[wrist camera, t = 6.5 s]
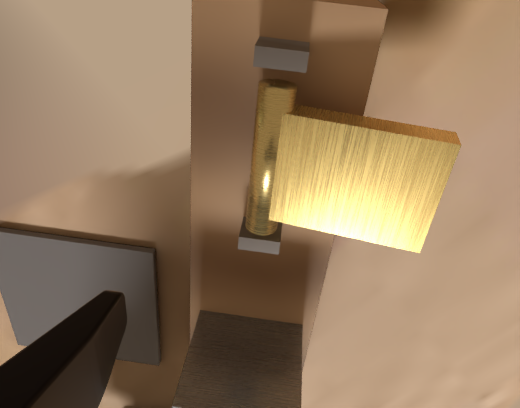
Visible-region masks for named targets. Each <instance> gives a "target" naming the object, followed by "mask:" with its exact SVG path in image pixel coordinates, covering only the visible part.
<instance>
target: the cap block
mask: <svg viewBox="0 0 520 408" xmlns="http://www.w3.org/2000/svg"><path fill="white" fill-rule="evenodd" d="M302 334H303V325H302V324H295V323H288V322H281V321H274V320H267V319H260V318H253V317H246V316H239V315H232V314H225V313H218V312H211V311H205V310H200V312H199V316H198V319H197V322H196V326H195V329H194V333H193V336H192V339H191V343H190V346H189V349H188V353H187V356H186V360H185V363H184V366H183V370H182V373H181V376H180V380H179V383H178V387H177V390H176V393H175V397H174V400H173V403H172V408H301V387H302Z"/></svg>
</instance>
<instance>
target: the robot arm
mask: <svg viewBox="0 0 520 408" xmlns="http://www.w3.org/2000/svg"><path fill="white" fill-rule="evenodd" d="M126 325H127V311H126V301H125V295H124V293H122V292H118V291H111V290H105V291H102V292H101V293H100V294H98V295H97V296H95V297H94V298H93V299H91V300H90V301H89V302H87V303H86V304H84V305H83V306H82V307H80V308H79V309H78V310H76V311H75V312H74V313H72V314H71V315H69V316H68V317H67V318H65V319H64V320H63V321H61V322H60V323H58V324H57V325H56V326H54V327H53V328H52V329H50V330H49V331H47V332H46V333H45V334H43V335H42V336H41V337H39V338H38V339H36V340H35V341H34V342H32V343H31V344H30V345H28V346H27V347H26V348H24V349H23V350H21V351H20V352H19V353H17V354H16V355H15V356H13V357H12V358H10V359H9V360H8V361H6V362H5V363H4V364H2V365H1V366H0V408H98V406H99V404H100V402H101V399H102V397H103V395H104V392H105V389H106V386H107V383H108V380H109V377H110V374H111V371H112V368H113V365H114V362H115V359H116V356H117V353H118V350H119V347H120V344H121V341H122V338H123V335H124V332H125V329H126Z"/></svg>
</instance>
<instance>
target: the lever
mask: <svg viewBox="0 0 520 408" xmlns="http://www.w3.org/2000/svg"><path fill="white" fill-rule="evenodd" d="M296 93H297V85H296V84H295V83H293V82H290V81H287V80H282V79H263V80H260V81H259V84H258V95H257V106H256V117H255V127H254V138H253V149H252V160H251V170H250V181H249V192H248V203H247V213H246V224H245V226H246V228H247V230H248V231H249V232H251V233H253V234H256V235H261V236H266V235H270V234H273V233H274V232H275V231H276V230H277V225H278V222H281V223H286V224H290V225H295V226H299V227H304V228H308V229H313V230H317V231H322V232H327V233H331V234H336V235H340V236H345V237H349V238H354V239H358V240H363V241H368V242H372V243H377V244H381V245H386V246H390V247H395V248H399V249H404V250H409V251H413V252H418V253H420V251H421V248H422V245H423V243H424V240H425V238H426V235H427V232H428V230H429V227H430V225H431V222H432V219H433V217H434V214H435V212H436V209H437V207H438V204H439V201H440V199H441V196H442V194H443V191H444V188H445V186H446V183H447V181H448V178H449V175H450V173H451V170H452V168H453V165H454V163H455V160H456V157H457V155H458V152H459V150H460V147H461V143H460V141H459V138H458V136H457V133H456V132H451V131H445V130H439V129H434V128H428V127H422V126H416V125H411V124H405V123H399V122H393V121H388V120H382V119H376V118H370V117H365V116H359V115H353V114H348V113H342V112H336V111H330V110H325V109H319V108H313V107H307V106H302V105H296V104H295V99H296Z"/></svg>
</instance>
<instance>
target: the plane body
mask: <svg viewBox="0 0 520 408" xmlns="http://www.w3.org/2000/svg"><path fill="white" fill-rule="evenodd" d="M387 13H388V9H387V8H386V7H385V6H384V5H383V4H382V3H381V2H380V1H379V0H192V64H191V68H192V70H191V234H190V343H191V339H192V336H193V333H194V329H195V326H196V322H197V319H198V316H199V312H200V310H205V311H211V312H218V313H225V314H232V315H239V316H246V317H253V318H260V319H267V320H274V321H281V322H288V323H295V324H302V325H303V334H302V370H303V366H304V362H305V358H306V353H307V349H308V345H309V341H310V337H311V332H312V328H313V324H314V320H315V316H316V311H317V307H318V303H319V299H320V295H321V290H322V286H323V282H324V278H325V274H326V269H327V265H328V261H329V257H330V253H331V248H332V244H333V240H334V236H335V234H331V233H327V232H322V231H317V230H313V229H308V228H304V227H299V226H295V225H290V224H286V223H281V222H278V225H277V230H276V231H275V232H274V233H273V234H270V235H266V236H261V235H256V234H253V233H251V232H249V231H248V230H247V228H246V226H245V224H246V213H247V203H248V192H249V181H250V170H251V160H252V149H253V138H254V127H255V117H256V106H257V95H258V84H259V81H260V80H263V79H282V80H287V81H290V82H293V83H295V84H296V85H297V93H296V99H295V104H296V105H302V106H307V107H313V108H319V109H325V110H330V111H336V112H342V113H348V114H353V115H359V116H363V114H364V110H365V106H366V102H367V97H368V93H369V89H370V85H371V81H372V76H373V72H374V68H375V64H376V60H377V55H378V51H379V47H380V43H381V39H382V34H383V30H384V26H385V22H386V18H387Z"/></svg>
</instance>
